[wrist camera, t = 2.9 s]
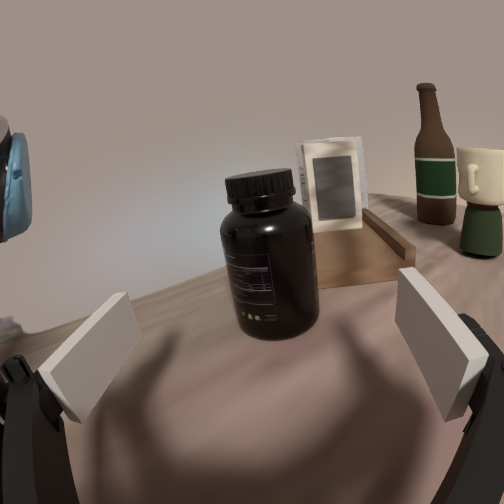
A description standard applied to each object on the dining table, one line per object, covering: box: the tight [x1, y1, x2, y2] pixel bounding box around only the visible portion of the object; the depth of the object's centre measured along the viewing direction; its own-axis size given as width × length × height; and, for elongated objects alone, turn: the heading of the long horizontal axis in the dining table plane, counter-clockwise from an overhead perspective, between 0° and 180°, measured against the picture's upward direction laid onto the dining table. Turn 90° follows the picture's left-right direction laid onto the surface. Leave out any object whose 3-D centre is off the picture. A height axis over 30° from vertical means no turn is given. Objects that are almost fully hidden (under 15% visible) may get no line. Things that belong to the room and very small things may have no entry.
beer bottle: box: [414, 83, 456, 225], centre depth 41 cm, size 8×8×24 cm
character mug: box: [457, 147, 504, 256], centre depth 27 cm, size 11×7×13 cm, turn 117°
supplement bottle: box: [220, 168, 319, 341], centre depth 22 cm, size 7×7×12 cm
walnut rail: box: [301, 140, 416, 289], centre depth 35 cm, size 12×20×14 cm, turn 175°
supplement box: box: [295, 137, 369, 211], centre depth 51 cm, size 9×9×15 cm
